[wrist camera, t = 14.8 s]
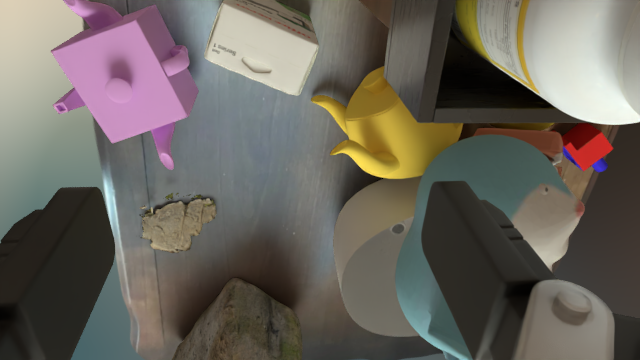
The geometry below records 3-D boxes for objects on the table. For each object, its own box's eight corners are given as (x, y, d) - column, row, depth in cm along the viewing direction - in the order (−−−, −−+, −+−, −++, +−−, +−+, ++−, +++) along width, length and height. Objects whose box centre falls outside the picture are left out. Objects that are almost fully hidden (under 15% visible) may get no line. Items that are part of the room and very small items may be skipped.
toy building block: (576, 111, 54) (603, 149, 57) (547, 134, 55) (575, 169, 59) (595, 123, 51) (622, 162, 54) (564, 147, 52) (592, 183, 56)
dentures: (550, 216, 47) (555, 149, 49) (561, 197, 41) (566, 121, 43) (466, 206, 51) (474, 143, 53) (464, 187, 44) (473, 117, 46)
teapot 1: (26, -5, 41) (-35, 16, 33) (153, -54, 40) (123, -45, 32) (128, 152, 51) (101, 198, 42) (233, 115, 50) (226, 156, 41)
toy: (520, 482, 28) (582, 202, 22) (338, 386, 36) (342, 156, 29) (565, 304, 47) (606, 121, 40) (438, 265, 54) (454, 106, 48)
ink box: (312, 16, 45) (325, 45, 35) (293, 60, 47) (300, 99, 37) (232, -21, 42) (220, -1, 32) (216, 28, 44) (201, 60, 34)
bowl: (316, 174, 54) (327, 232, 44) (465, 142, 54) (510, 193, 44) (340, 285, 65) (354, 352, 55) (465, 258, 65) (502, 321, 55)
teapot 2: (356, 153, 54) (307, 95, 49) (447, 85, 51) (405, 17, 46) (386, 218, 42) (327, 152, 38) (506, 136, 39) (459, 52, 35)
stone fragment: (204, 257, 60) (204, 248, 61) (221, 198, 54) (220, 190, 55) (133, 254, 56) (133, 245, 57) (142, 190, 50) (143, 182, 51)
